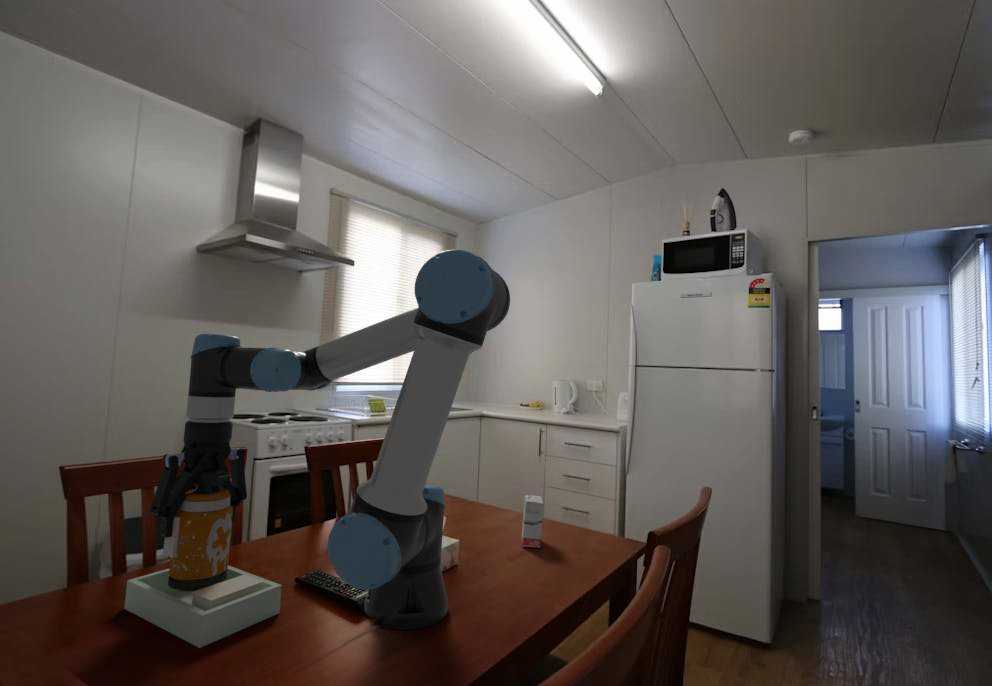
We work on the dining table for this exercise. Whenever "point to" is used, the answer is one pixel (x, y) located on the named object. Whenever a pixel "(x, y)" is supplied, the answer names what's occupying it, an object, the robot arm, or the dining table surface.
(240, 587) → the white plastic bar
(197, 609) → the crate
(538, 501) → the ink box
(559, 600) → the dining table surface
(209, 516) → the canister
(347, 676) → the dining table surface
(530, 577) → the dining table surface
